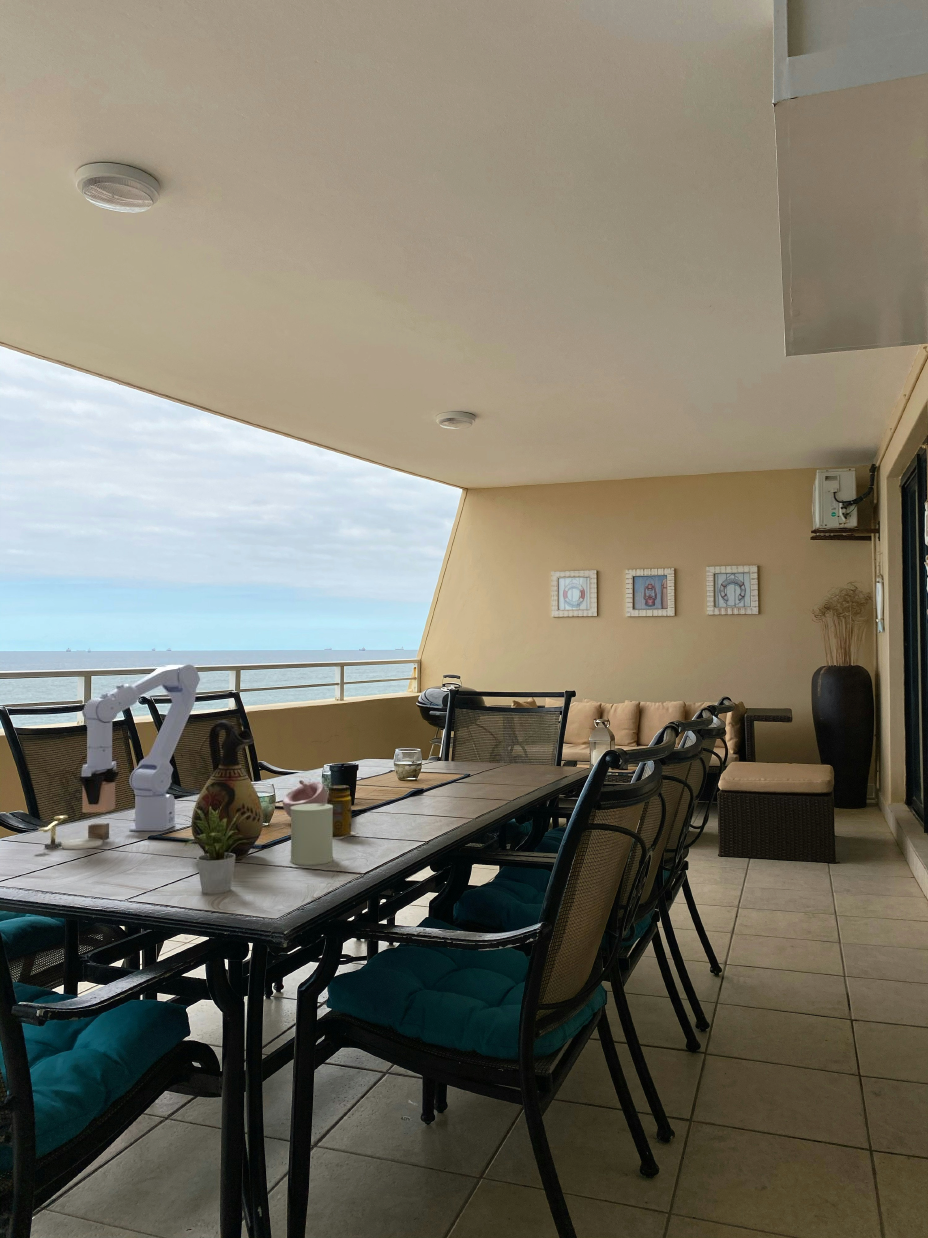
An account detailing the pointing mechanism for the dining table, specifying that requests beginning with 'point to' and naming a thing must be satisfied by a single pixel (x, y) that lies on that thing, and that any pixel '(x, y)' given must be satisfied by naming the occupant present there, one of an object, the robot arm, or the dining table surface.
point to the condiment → (340, 811)
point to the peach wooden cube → (101, 799)
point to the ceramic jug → (230, 792)
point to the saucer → (82, 843)
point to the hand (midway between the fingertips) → (99, 802)
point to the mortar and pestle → (305, 795)
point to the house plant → (215, 853)
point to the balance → (53, 832)
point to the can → (311, 834)
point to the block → (98, 830)
